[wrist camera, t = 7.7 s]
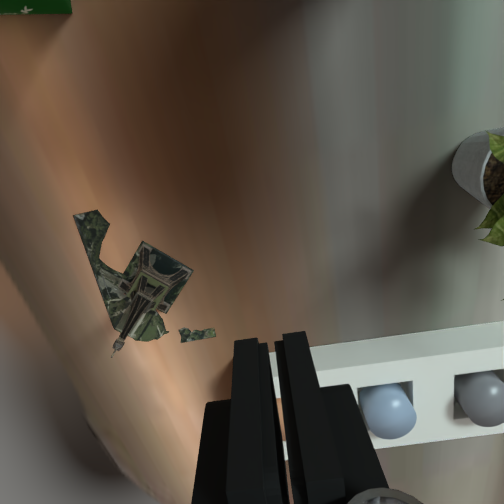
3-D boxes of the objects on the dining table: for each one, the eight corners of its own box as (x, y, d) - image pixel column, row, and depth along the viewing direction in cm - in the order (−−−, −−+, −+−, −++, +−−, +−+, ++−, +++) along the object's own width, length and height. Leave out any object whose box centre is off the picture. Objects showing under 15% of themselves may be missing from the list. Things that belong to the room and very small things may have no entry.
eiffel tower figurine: (72, 211, 36) (-21, 265, 24) (181, 188, 36) (145, 230, 23) (123, 351, 41) (69, 457, 29) (220, 332, 41) (208, 433, 28)
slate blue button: (403, 375, 39) (416, 397, 36) (404, 411, 40) (417, 436, 37) (357, 381, 39) (366, 403, 36) (360, 417, 40) (369, 442, 37)
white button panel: (512, 319, 40) (539, 341, 36) (506, 401, 43) (531, 429, 39) (233, 357, 41) (232, 382, 37) (248, 434, 44) (248, 464, 40)
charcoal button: (497, 362, 38) (518, 384, 35) (495, 400, 40) (515, 423, 37) (451, 368, 38) (468, 390, 35) (450, 405, 40) (467, 429, 37)
